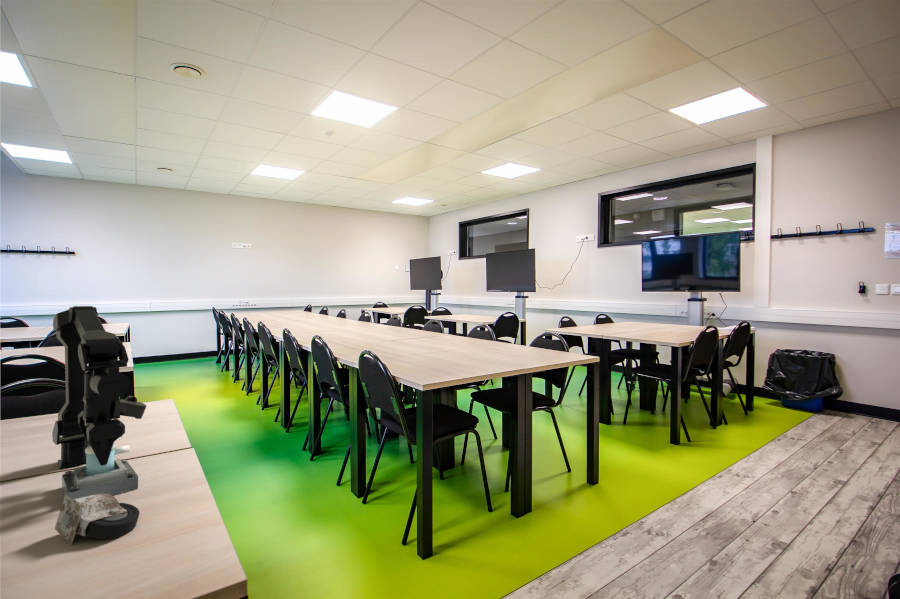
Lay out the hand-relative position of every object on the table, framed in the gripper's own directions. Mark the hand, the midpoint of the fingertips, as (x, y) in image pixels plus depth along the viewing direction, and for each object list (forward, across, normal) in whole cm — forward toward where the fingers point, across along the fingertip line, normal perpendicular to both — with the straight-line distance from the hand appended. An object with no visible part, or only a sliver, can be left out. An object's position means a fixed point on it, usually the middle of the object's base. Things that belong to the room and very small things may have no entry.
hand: (100, 459), depth 98 cm
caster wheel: (+7, -23, +3) cm, 24 cm away
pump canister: (+4, 0, -1) cm, 4 cm away
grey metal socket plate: (+7, 0, 0) cm, 7 cm away
